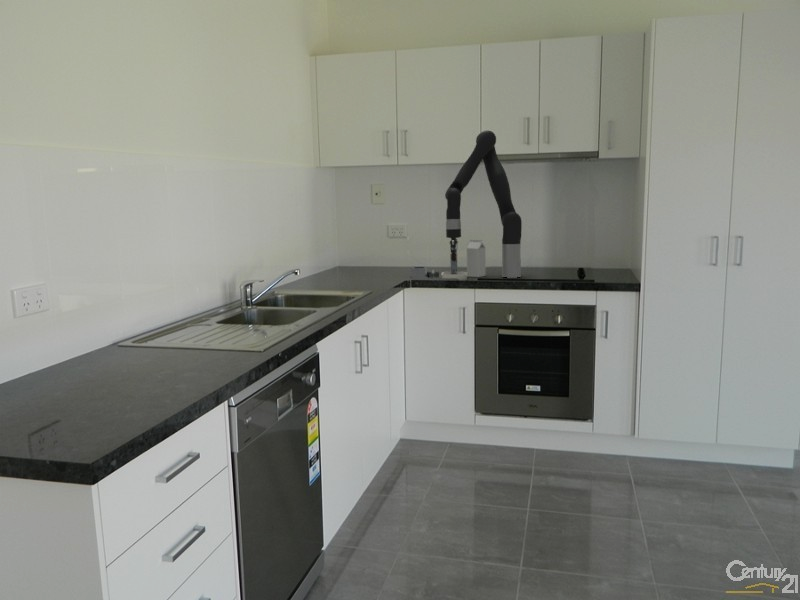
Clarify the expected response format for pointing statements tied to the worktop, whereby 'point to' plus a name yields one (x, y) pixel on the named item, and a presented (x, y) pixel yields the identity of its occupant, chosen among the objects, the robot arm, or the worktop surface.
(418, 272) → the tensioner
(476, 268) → the milk carton
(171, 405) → the worktop surface
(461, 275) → the tray
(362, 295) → the worktop surface
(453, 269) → the lock pin
